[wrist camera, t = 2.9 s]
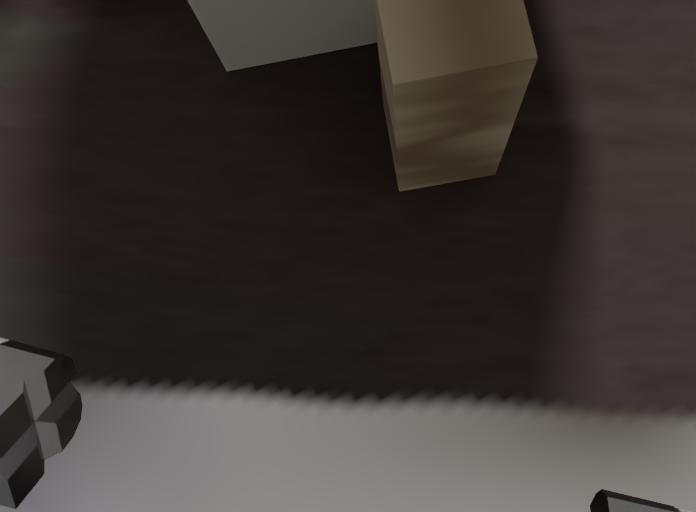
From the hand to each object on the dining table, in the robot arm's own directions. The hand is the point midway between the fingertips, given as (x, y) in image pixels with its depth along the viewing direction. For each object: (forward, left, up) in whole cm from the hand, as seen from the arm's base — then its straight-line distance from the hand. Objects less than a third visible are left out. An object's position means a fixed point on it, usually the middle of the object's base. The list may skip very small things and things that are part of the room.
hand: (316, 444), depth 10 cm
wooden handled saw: (+4, +19, -15) cm, 25 cm away
